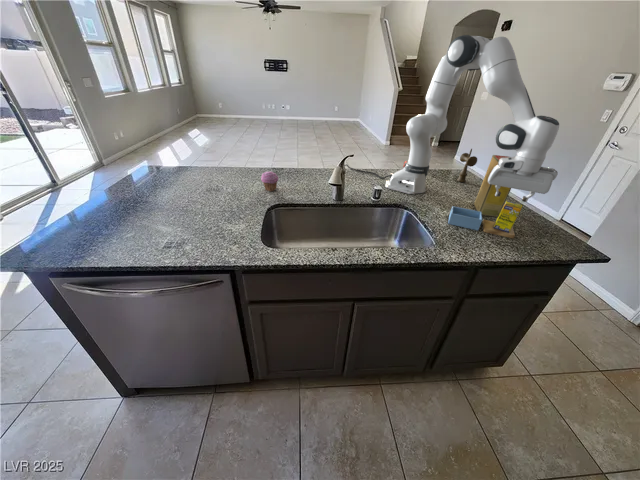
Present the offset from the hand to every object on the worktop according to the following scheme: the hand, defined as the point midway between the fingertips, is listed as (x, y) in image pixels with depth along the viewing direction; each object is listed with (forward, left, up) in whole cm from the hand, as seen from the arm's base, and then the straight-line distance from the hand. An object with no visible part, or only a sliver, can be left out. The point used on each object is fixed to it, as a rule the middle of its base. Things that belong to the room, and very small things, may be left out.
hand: (510, 198), depth 107 cm
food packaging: (-3, +20, -15) cm, 25 cm away
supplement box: (+1, -1, -13) cm, 13 cm away
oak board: (0, 0, -14) cm, 14 cm away
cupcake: (-108, -11, -15) cm, 110 cm away
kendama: (-15, +60, -15) cm, 63 cm away
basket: (-13, 0, -14) cm, 19 cm away
